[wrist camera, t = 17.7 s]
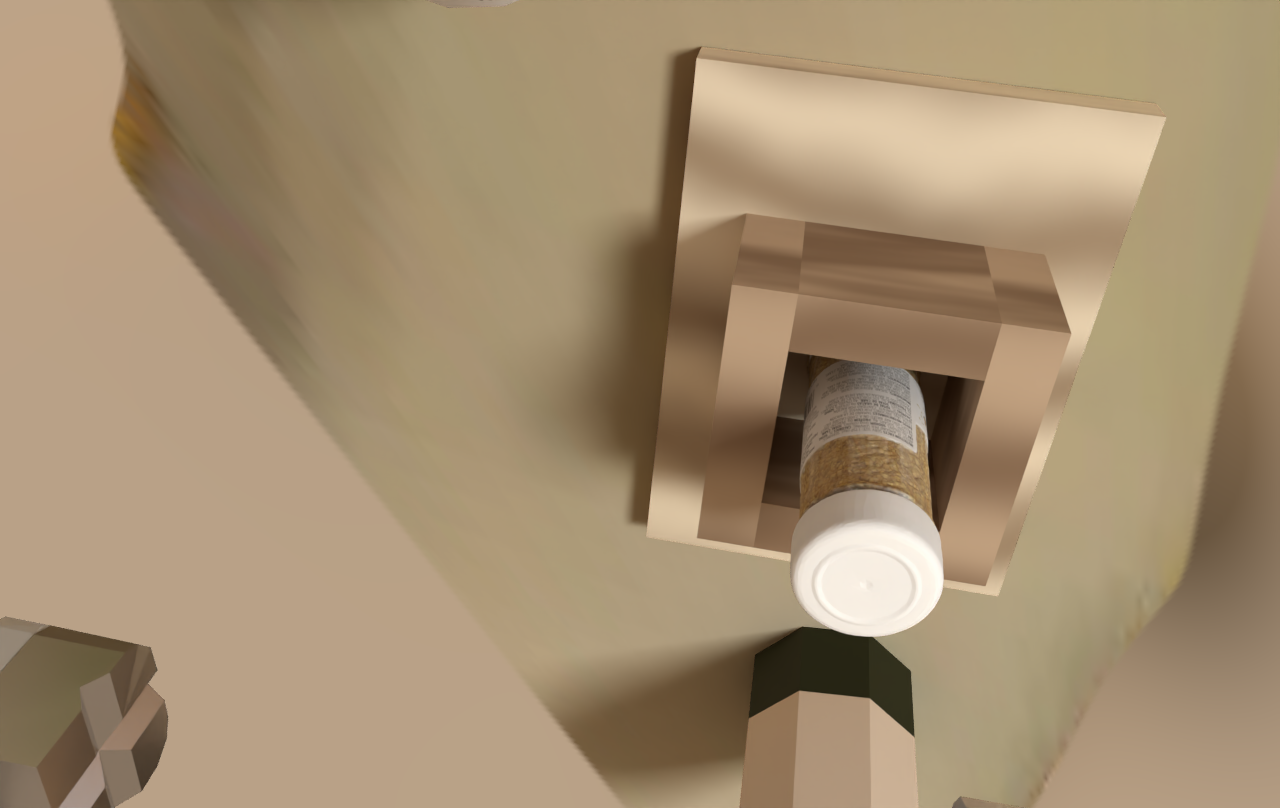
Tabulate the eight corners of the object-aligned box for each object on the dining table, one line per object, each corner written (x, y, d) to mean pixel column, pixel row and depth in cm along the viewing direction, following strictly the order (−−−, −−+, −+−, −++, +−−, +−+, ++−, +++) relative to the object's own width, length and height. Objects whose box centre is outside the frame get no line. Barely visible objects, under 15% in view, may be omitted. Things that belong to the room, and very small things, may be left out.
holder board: (701, 46, 40) (672, 112, 33) (1156, 103, 38) (1214, 182, 32) (651, 516, 52) (623, 629, 46) (994, 574, 50) (1014, 697, 44)
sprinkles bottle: (897, 420, 45) (912, 660, 34) (790, 390, 45) (770, 619, 34) (939, 327, 42) (969, 553, 31) (826, 295, 43) (815, 509, 31)
